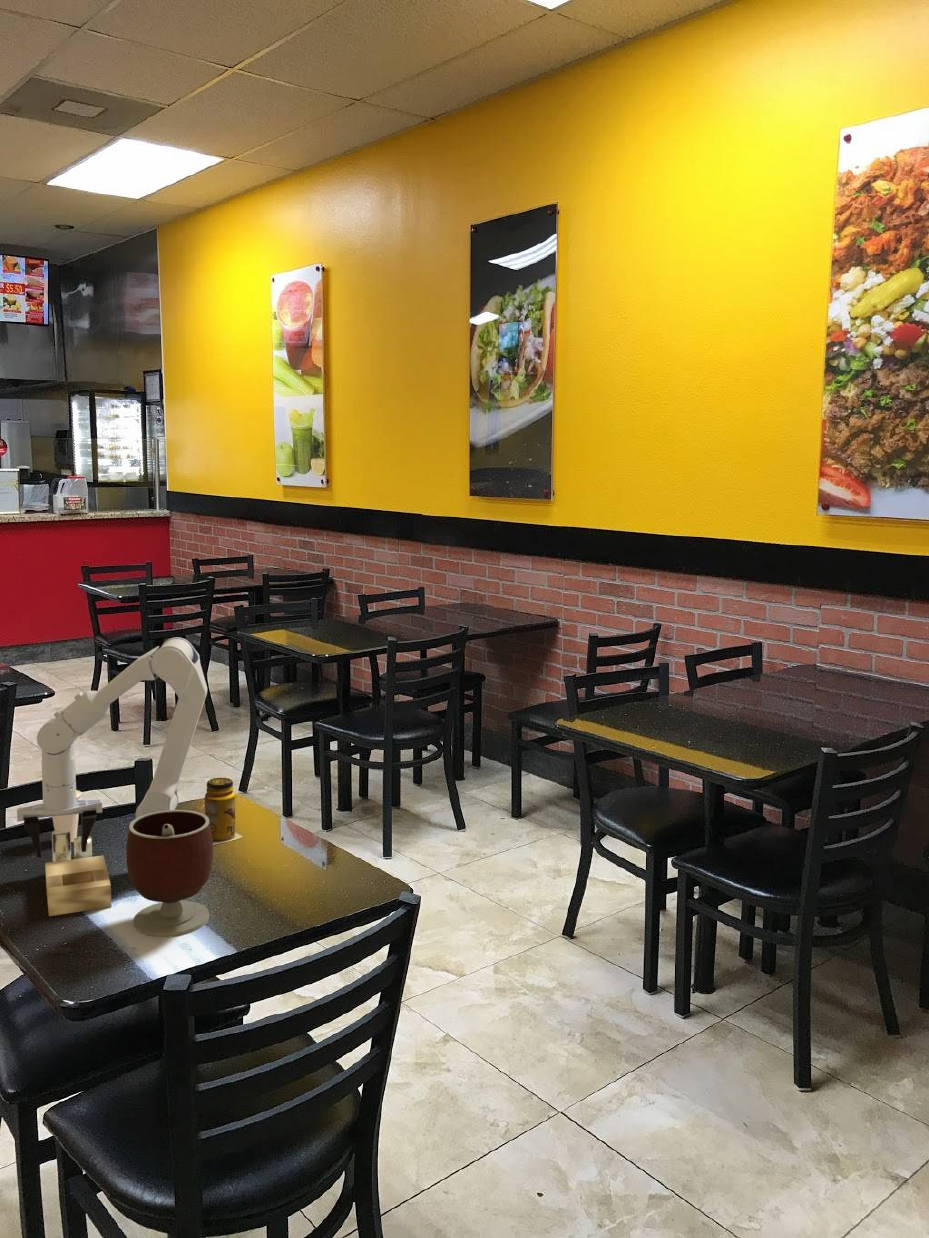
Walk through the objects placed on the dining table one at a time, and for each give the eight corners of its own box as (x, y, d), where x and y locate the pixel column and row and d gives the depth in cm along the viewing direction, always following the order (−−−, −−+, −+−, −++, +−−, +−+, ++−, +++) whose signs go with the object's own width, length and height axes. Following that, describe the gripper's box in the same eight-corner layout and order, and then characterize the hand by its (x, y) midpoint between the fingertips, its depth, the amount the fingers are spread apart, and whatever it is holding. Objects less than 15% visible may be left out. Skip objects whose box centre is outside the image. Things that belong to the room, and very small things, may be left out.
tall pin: (75, 870, 188) (73, 829, 187) (66, 877, 185) (65, 835, 183) (58, 869, 188) (56, 828, 187) (50, 876, 185) (48, 834, 184)
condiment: (243, 837, 206) (243, 781, 204) (207, 847, 200) (206, 790, 198) (225, 827, 211) (224, 773, 209) (188, 837, 205) (187, 781, 204)
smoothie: (60, 848, 198) (58, 780, 196) (42, 840, 202) (40, 773, 199) (89, 839, 203) (87, 773, 201) (72, 831, 207) (69, 766, 204)
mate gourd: (132, 905, 174) (129, 794, 171) (214, 899, 177) (213, 790, 174) (123, 947, 159) (119, 827, 156) (213, 940, 162) (211, 822, 159)
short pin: (95, 855, 195) (94, 836, 194) (87, 862, 192) (87, 842, 191) (79, 854, 195) (78, 835, 194) (71, 861, 192) (70, 841, 191)
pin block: (104, 875, 186) (103, 855, 185) (111, 906, 173) (110, 884, 172) (46, 883, 181) (45, 862, 181) (48, 916, 169) (47, 893, 168)
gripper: (99, 772, 190) (101, 840, 192) (15, 779, 184) (18, 849, 186) (102, 783, 184) (104, 853, 186) (16, 791, 178) (18, 864, 180)
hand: (61, 852), depth 186 cm, fingers open, 7 cm apart
